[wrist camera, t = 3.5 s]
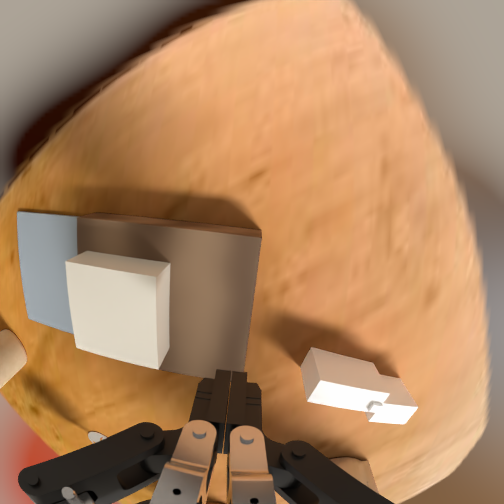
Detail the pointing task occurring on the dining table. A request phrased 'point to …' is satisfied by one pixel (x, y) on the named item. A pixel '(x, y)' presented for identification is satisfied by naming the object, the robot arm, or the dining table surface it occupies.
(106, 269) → the white block
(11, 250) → the dining table surface
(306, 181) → the dining table surface
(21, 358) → the candle
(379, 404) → the napkin holder
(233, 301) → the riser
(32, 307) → the mat
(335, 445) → the dining table surface
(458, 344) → the dining table surface
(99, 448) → the robot arm
